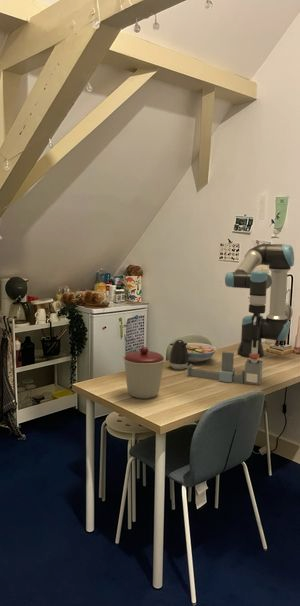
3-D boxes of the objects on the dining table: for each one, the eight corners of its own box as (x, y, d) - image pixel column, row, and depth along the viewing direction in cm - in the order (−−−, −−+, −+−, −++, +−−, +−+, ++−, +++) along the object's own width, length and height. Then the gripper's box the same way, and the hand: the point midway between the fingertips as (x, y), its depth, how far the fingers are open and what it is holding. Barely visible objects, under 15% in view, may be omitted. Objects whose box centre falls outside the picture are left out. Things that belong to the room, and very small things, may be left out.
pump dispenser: (178, 372, 226) (179, 343, 224) (164, 367, 234) (165, 339, 232) (192, 368, 233) (194, 340, 231) (178, 364, 241) (179, 336, 238)
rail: (190, 373, 225) (190, 363, 224) (244, 380, 215) (244, 370, 214) (187, 376, 220) (187, 366, 219) (242, 384, 210) (243, 373, 210)
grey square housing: (246, 379, 218) (247, 359, 217) (261, 380, 215) (262, 360, 214) (244, 383, 211) (245, 362, 210) (259, 385, 209) (260, 364, 207)
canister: (114, 392, 195) (114, 345, 192) (147, 385, 206) (148, 340, 203) (138, 405, 181) (139, 354, 178) (172, 396, 192) (174, 348, 189)
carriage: (222, 376, 220) (223, 349, 218) (234, 378, 218) (235, 351, 216) (218, 380, 213) (220, 353, 211) (231, 382, 211) (232, 354, 209)
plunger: (249, 367, 216) (250, 352, 214) (259, 368, 214) (260, 353, 213) (247, 369, 211) (248, 354, 210) (257, 371, 210) (258, 355, 209)
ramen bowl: (226, 362, 246) (227, 347, 245) (197, 369, 232) (198, 354, 231) (193, 352, 265) (194, 339, 264) (165, 358, 251) (165, 344, 249)
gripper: (251, 301, 215) (248, 349, 219) (246, 305, 203) (244, 356, 207) (267, 303, 213) (264, 351, 216) (263, 306, 201) (260, 358, 204)
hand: (254, 353), depth 211 cm, fingers closed
